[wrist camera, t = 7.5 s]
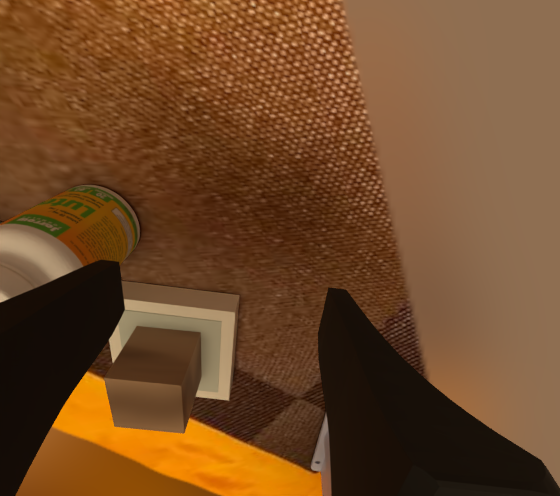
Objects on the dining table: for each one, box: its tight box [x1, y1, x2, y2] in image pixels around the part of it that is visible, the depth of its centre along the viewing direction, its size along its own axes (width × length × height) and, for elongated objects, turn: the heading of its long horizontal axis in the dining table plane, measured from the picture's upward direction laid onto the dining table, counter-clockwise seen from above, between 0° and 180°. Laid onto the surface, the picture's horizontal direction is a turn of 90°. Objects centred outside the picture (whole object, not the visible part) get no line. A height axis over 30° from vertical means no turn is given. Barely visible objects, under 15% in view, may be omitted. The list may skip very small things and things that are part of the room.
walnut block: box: [104, 326, 202, 433], centre depth 22 cm, size 4×4×4 cm
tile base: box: [109, 281, 240, 400], centre depth 25 cm, size 9×9×2 cm
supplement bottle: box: [0, 185, 140, 302], centre depth 18 cm, size 5×5×10 cm
